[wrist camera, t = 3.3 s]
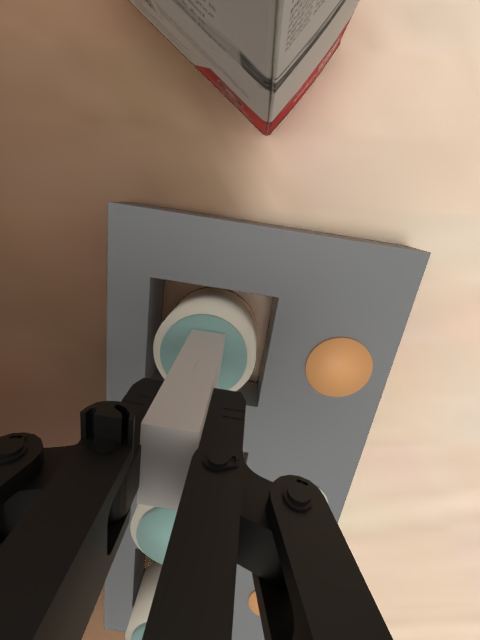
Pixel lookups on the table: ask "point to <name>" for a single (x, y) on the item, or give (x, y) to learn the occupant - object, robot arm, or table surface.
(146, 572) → the button
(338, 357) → the board
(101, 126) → the table surface
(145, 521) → the button
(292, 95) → the ink box
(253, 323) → the button
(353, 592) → the robot arm
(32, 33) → the table surface
